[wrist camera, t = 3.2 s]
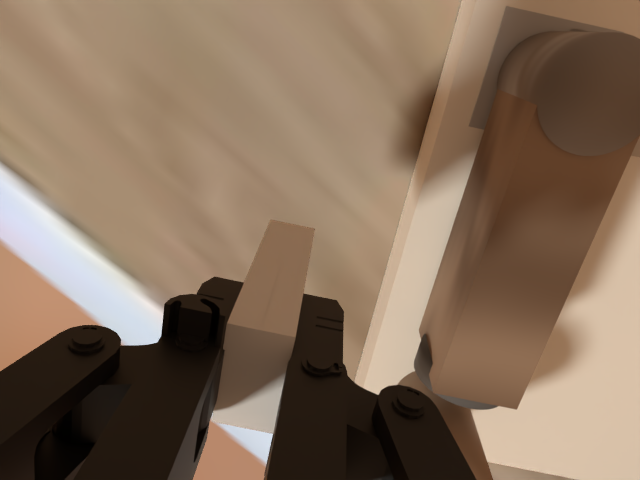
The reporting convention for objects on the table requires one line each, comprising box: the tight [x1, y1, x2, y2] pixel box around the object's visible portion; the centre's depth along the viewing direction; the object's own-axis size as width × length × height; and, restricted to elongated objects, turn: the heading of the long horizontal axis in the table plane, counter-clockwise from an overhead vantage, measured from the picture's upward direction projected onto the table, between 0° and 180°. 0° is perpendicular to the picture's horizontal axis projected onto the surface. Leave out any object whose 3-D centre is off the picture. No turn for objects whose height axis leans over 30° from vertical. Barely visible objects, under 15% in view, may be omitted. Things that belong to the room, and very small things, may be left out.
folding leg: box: [414, 31, 640, 410], centre depth 17 cm, size 13×4×4 cm, turn 168°
